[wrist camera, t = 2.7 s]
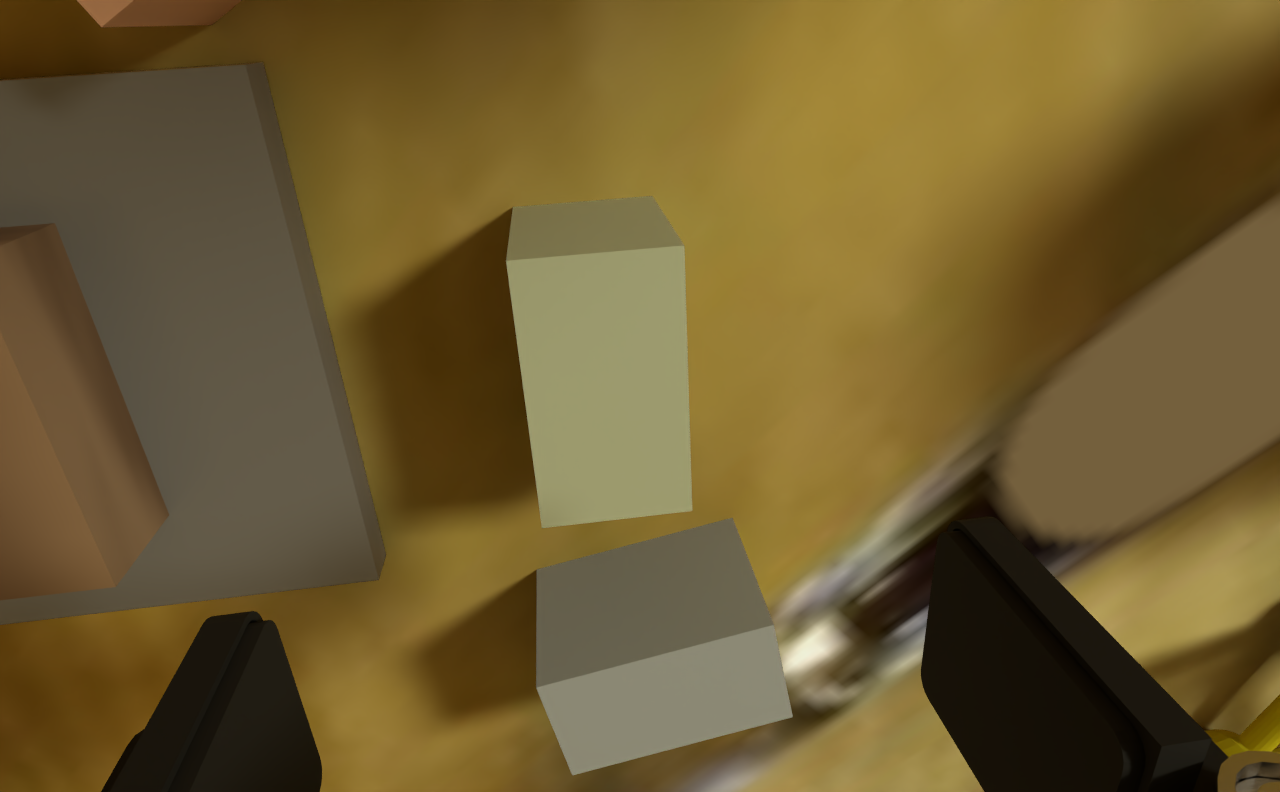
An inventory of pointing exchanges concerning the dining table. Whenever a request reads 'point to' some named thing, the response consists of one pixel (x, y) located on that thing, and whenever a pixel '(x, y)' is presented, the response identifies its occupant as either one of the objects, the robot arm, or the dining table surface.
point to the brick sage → (602, 358)
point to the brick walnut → (63, 434)
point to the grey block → (656, 647)
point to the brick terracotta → (156, 12)
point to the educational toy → (1252, 734)
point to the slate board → (198, 327)
